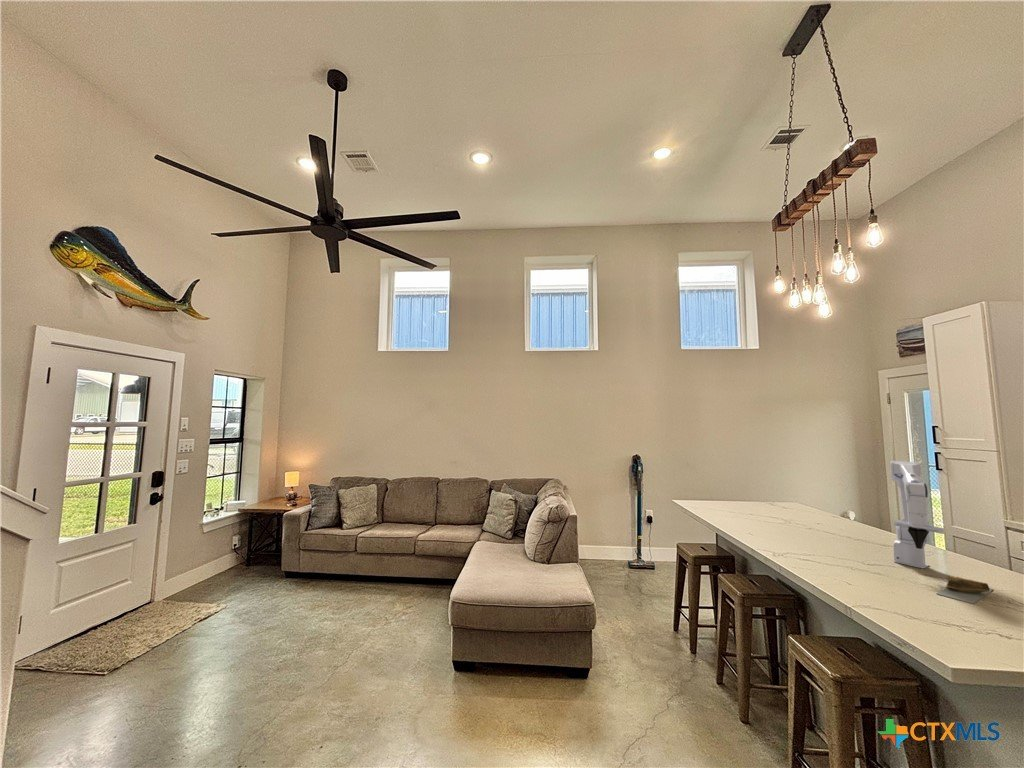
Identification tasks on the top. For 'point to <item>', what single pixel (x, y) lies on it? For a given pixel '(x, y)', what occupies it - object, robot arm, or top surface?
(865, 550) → the top surface
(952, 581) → the rock
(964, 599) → the mat
